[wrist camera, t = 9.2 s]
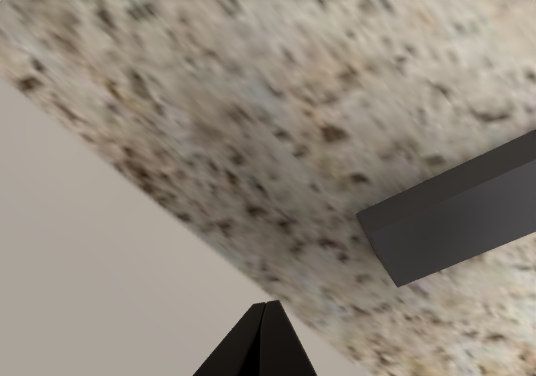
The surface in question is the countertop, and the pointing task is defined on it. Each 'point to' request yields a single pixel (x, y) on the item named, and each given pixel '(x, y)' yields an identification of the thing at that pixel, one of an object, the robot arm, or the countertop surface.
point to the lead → (456, 213)
